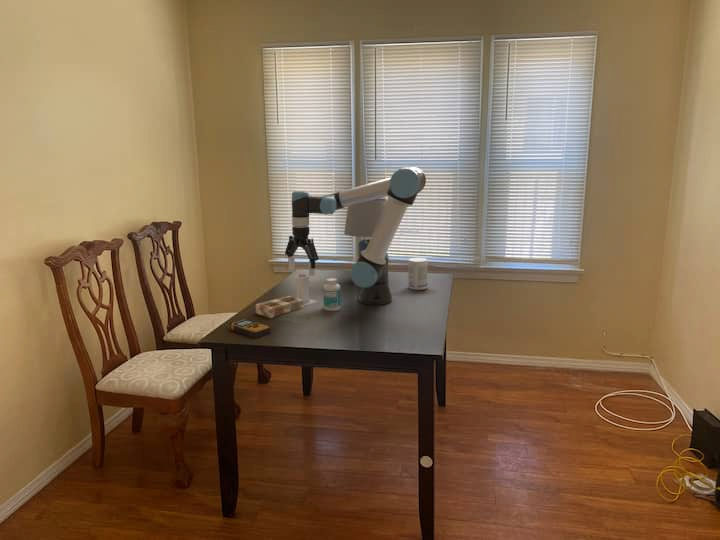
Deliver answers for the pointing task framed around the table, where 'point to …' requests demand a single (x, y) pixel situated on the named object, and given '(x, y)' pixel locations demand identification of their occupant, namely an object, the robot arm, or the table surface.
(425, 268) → the supplement tub
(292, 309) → the socket block
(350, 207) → the lamp
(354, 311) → the table surface
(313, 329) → the table surface
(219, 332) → the table surface
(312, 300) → the mat
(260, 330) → the electronic device
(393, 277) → the table surface
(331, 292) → the pill bottle
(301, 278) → the plug
